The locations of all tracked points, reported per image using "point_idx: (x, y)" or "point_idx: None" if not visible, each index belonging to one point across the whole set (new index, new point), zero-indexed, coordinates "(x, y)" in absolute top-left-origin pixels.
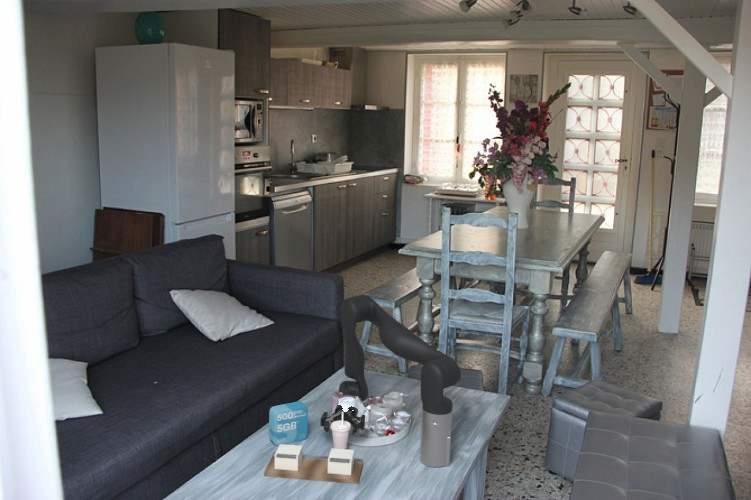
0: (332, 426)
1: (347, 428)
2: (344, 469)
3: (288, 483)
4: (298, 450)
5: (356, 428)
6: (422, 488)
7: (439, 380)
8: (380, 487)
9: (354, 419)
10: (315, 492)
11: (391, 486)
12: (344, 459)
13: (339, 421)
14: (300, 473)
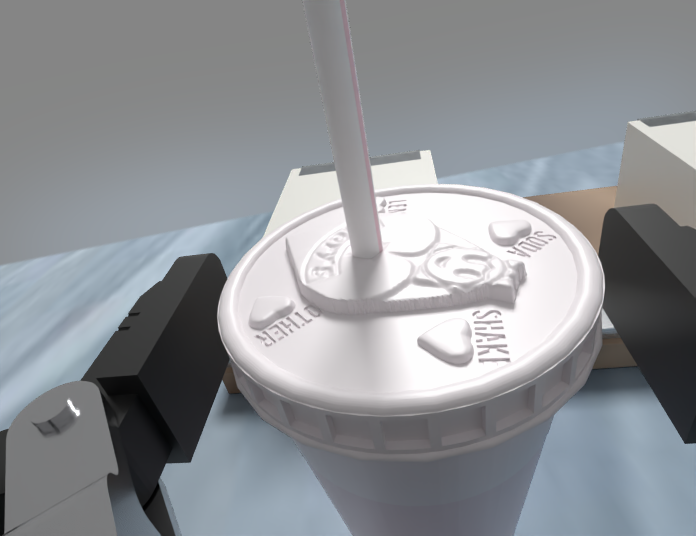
0: (517, 196)
1: (286, 235)
2: None
3: (601, 183)
4: (688, 149)
5: (154, 289)
6: (17, 279)
7: None
8: (189, 249)
9: (45, 512)
10: (453, 178)
11: (139, 262)
12: (331, 167)
13: (458, 341)
14: (580, 200)
